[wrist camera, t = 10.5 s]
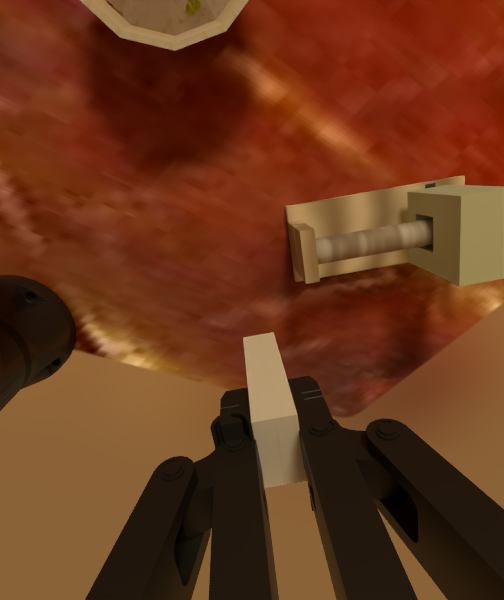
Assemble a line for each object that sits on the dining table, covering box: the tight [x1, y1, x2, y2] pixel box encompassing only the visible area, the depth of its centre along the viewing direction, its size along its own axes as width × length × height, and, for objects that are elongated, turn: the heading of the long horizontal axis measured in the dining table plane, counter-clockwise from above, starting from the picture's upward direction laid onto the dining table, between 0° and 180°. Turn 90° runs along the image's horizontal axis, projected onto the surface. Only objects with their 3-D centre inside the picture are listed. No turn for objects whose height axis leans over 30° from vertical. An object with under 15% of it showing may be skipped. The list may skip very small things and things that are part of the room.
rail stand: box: [285, 176, 465, 284], centre depth 45 cm, size 23×10×9 cm, turn 99°
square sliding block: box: [407, 185, 504, 286], centre depth 41 cm, size 5×9×11 cm, turn 9°
